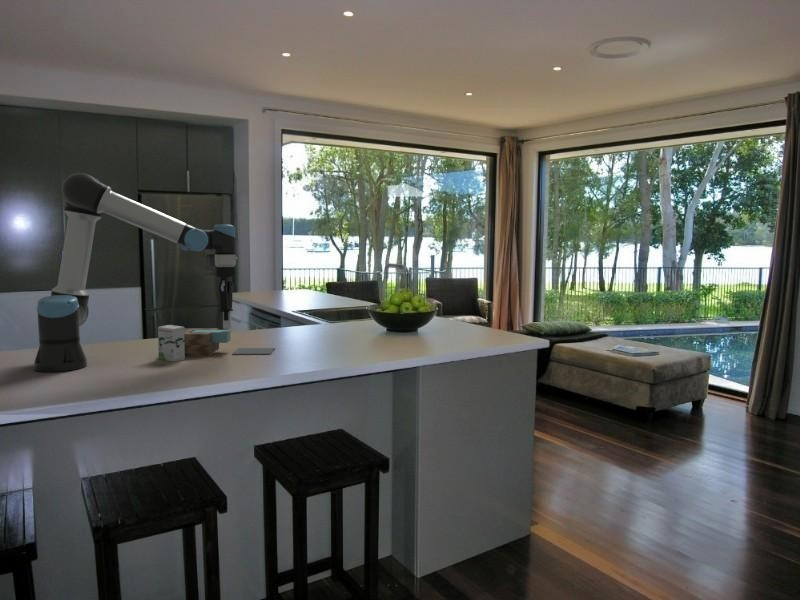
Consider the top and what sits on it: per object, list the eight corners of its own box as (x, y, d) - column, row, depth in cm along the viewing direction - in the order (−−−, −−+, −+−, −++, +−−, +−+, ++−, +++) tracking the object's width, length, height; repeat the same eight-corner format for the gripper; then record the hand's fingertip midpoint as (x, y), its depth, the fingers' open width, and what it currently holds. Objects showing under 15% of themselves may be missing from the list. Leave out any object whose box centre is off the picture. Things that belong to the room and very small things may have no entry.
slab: (191, 343, 223) (191, 332, 223) (196, 340, 229) (195, 330, 229) (226, 342, 224) (226, 332, 224) (230, 340, 230) (230, 329, 230)
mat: (232, 354, 222) (232, 353, 222) (239, 349, 234) (239, 348, 234) (270, 354, 222) (270, 353, 222) (275, 348, 234) (275, 347, 234)
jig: (164, 355, 219) (163, 334, 218) (177, 348, 234) (176, 328, 233) (209, 355, 220) (208, 334, 219) (219, 348, 235) (218, 328, 234)
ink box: (157, 359, 213) (156, 326, 212) (169, 357, 217) (168, 324, 216) (174, 361, 209) (173, 328, 208) (185, 359, 213) (184, 326, 212)
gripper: (231, 266, 218) (233, 331, 220) (239, 265, 231) (240, 326, 233) (210, 266, 218) (212, 331, 220) (219, 265, 231) (221, 326, 233)
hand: (227, 328), depth 227 cm, fingers closed
